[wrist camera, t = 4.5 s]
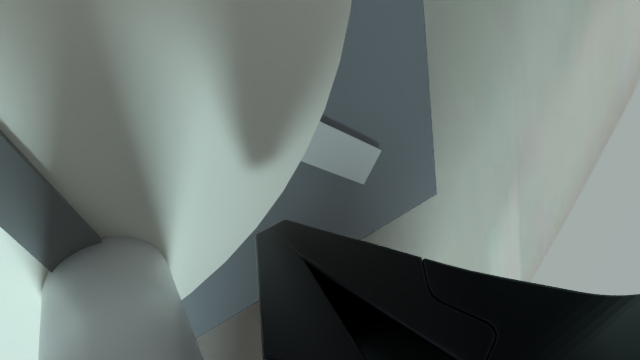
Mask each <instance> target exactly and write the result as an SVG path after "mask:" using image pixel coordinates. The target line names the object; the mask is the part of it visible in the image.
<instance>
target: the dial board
mask: <svg viewBox="0 0 640 360" xmlns="http://www.w3.org/2000/svg"><path fill="white" fill-rule="evenodd" d="M436 194H437V192H436V177H435V163H434V149H433V135H432V120H431V106H430V92H429V78H428V64H427V49H426V35H425V21H424V7H423V0H352V1H351V11H350V16H349V20H348V25H347V30H346V35H345V40H344V44H343V49H342V54H341V59H340V63H339V66H338V69H337V73H336V76H335V79H334V82H333V85H332V88H331V91H330V94H329V98H328V101H327V104H326V107H325V110H324V112H323V114H322V117H321V119H320V121H319V123H318V126H317V128H316V130H315V132H314V135H313V137H312V139H311V142H310V144H309V146H308V148H307V151H306V153H305V154H304V156H303V158H302V160H301V161H300V163H299V165H298V166H297V168H296V170H295V172H294V173H293V175H292V177H291V179H290V180H289V182H288V184H287V185H286V187H285V189H284V191H283V192H282V193H281V195H280V196H279V198H278V199H277V200H276V202H275V203H274V204H273V206H272V207H271V209H270V210H269V211H268V213H267V214H266V215H265V217H264V218H263V219H262V221H261V222H260V224H259V225H258V226H257V228H256V229H255V230H254V231H253V232H252V233H251V234H250V235H249V236H248V238H247V239H246V240H245V241H244V242H243V243H242V244H241V245H240V246H239V247H238V249H237V250H236V251H235V252H234V253H233V254H232V255H231V256H230V257H229V259H228V260H227V261H226V262H225V263H224V264H222V265H221V266H220V267H219V268H218V269H217V270H216V271H215V272H214V273H213V274H211V275H210V276H209V277H208V278H207V279H206V280H205V281H204V282H203V283H201V284H200V285H199V286H198V287H197V288H196V289H195V290H194V291H193V292H191V293H190V294H189V295H188V296H186V297H185V298H184V299H182V300H181V301H182V303H183V306H184V309H185V312H186V314H187V317H188V320H189V322H190V325H191V328H192V330H193V333H194V336H195V338H197V337H199V336H201V335H202V334H204V333H206V332H207V331H209V330H211V329H212V328H214V327H216V326H217V325H219V324H221V323H222V322H224V321H226V320H227V319H229V318H231V317H232V316H234V315H236V314H237V313H239V312H241V311H242V310H244V309H246V308H247V307H249V306H251V305H252V304H254V303H256V302H257V301H259V294H258V279H257V264H256V249H255V234H256V233H258V232H260V231H262V230H264V229H266V228H268V227H270V226H271V225H273V224H275V223H277V222H279V221H281V220H283V219H287V220H291V221H294V222H298V223H301V224H305V225H309V226H312V227H316V228H319V229H323V230H326V231H330V232H333V233H337V234H340V235H344V236H347V237H351V238H354V239H358V240H361V239H362V238H364V237H366V236H367V235H369V234H371V233H372V232H374V231H376V230H377V229H379V228H381V227H382V226H384V225H386V224H387V223H389V222H391V221H392V220H394V219H396V218H397V217H399V216H401V215H402V214H404V213H406V212H407V211H409V210H411V209H412V208H414V207H416V206H417V205H419V204H421V203H422V202H424V201H426V200H427V199H429V198H431V197H432V196H434V195H436Z"/></svg>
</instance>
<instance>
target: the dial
mask: <svg viewBox="0 0 640 360" xmlns="http://www.w3.org/2000/svg"><path fill="white" fill-rule="evenodd" d="M351 1H352V0H0V360H203V357H202V355H201V352H200V349H199V346H198V344H197V341H196V338H195V336H194V333H193V330H192V328H191V325H190V322H189V320H188V317H187V314H186V312H185V309H184V306H183V303H182V301H181V300H182V299H184V298H185V297H186V296H188V295H189V294H190V293H191V292H193V291H194V290H195V289H196V288H197V287H198V286H199V285H200V284H201V283H203V282H204V281H205V280H206V279H207V278H208V277H209V276H210V275H211V274H213V273H214V272H215V271H216V270H217V269H218V268H219V267H220V266H221V265H222V264H224V263H225V262H226V261H227V260H228V259H229V257H230V256H231V255H232V254H233V253H234V252H235V251H236V250H237V249H238V247H239V246H240V245H241V244H242V243H243V242H244V241H245V240H246V239H247V238H248V236H249V235H250V234H251V233H252V232H253V231H254V230H255V229H256V228H257V226H258V225H259V224H260V222H261V221H262V219H263V218H264V217H265V215H266V214H267V213H268V211H269V210H270V209H271V207H272V206H273V204H274V203H275V202H276V200H277V199H278V198H279V196H280V195H281V193H282V192H283V191H284V189H285V187H286V185H287V184H288V182H289V180H290V179H291V177H292V175H293V173H294V172H295V170H296V168H297V166H298V165H299V163H300V161H301V160H302V158H303V156H304V154H305V153H306V151H307V148H308V146H309V144H310V142H311V139H312V137H313V135H314V132H315V130H316V128H317V126H318V123H319V121H320V119H321V117H322V114H323V112H324V110H325V107H326V104H327V101H328V98H329V94H330V91H331V88H332V85H333V82H334V79H335V76H336V73H337V69H338V66H339V63H340V59H341V54H342V49H343V44H344V40H345V35H346V30H347V25H348V20H349V16H350V11H351Z"/></svg>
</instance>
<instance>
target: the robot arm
mask: <svg viewBox="0 0 640 360" xmlns="http://www.w3.org/2000/svg"><path fill="white" fill-rule="evenodd" d="M255 249H256V264H257V279H258V294H259V308H260V323H261V338H262V352H263V360H640V294H637V295H624V296H623V295H621V296H620V295H619V296H616V295H599V294H590V293H584V292H578V291H573V290H567V289H562V288H557V287H551V286H546V285H541V284H535V283H530V282H525V281H519V280H514V279H509V278H504V277H499V276H494V275H489V274H484V273H480V272H475V271H470V270H466V269H462V268H458V267H455V266H451V265H447V264H443V263H439V262H436V261H432V260H429V259H423V261H422V258H421V257H418V256H414V255H411V254H407V253H404V252H400V251H397V250H393V249H390V248H386V247H382V246H379V245H375V244H372V243H368V242H365V241H361V240H358V239H354V238H351V237H347V236H344V235H340V234H337V233H333V232H330V231H326V230H323V229H319V228H316V227H312V226H309V225H305V224H301V223H298V222H294V221H291V220H287V219H283V220H281V221H279V222H277V223H275V224H273V225H271V226H270V227H268V228H266V229H264V230H262V231H260V232H258V233H256V234H255Z"/></svg>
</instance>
